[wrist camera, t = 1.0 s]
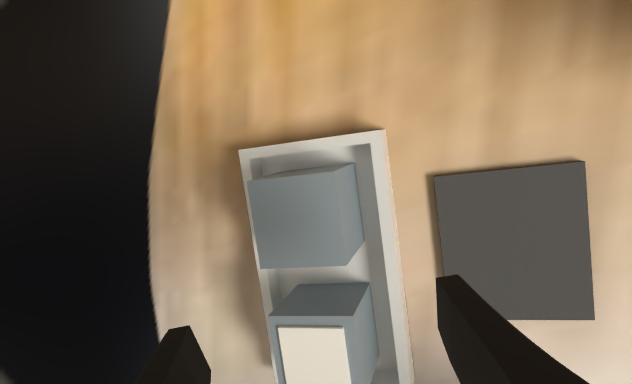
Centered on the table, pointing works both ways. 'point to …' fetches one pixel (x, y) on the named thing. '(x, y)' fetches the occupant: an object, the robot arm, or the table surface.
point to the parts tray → (371, 258)
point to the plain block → (307, 217)
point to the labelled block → (325, 335)
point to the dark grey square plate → (520, 239)
